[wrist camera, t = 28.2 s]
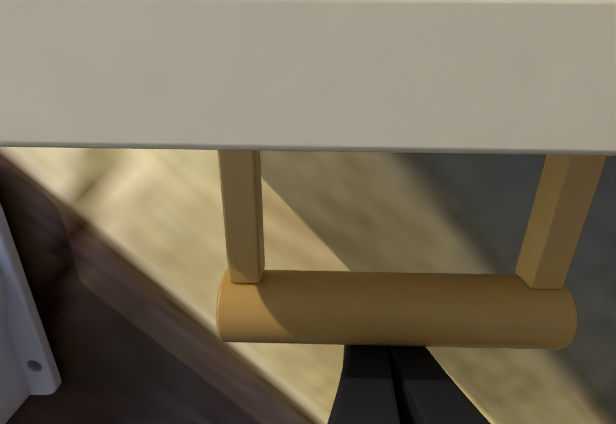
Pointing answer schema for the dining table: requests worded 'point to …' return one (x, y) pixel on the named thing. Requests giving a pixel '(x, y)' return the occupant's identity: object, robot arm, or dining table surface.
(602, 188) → the dining table surface
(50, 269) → the dining table surface
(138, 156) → the dining table surface
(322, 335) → the drawer
